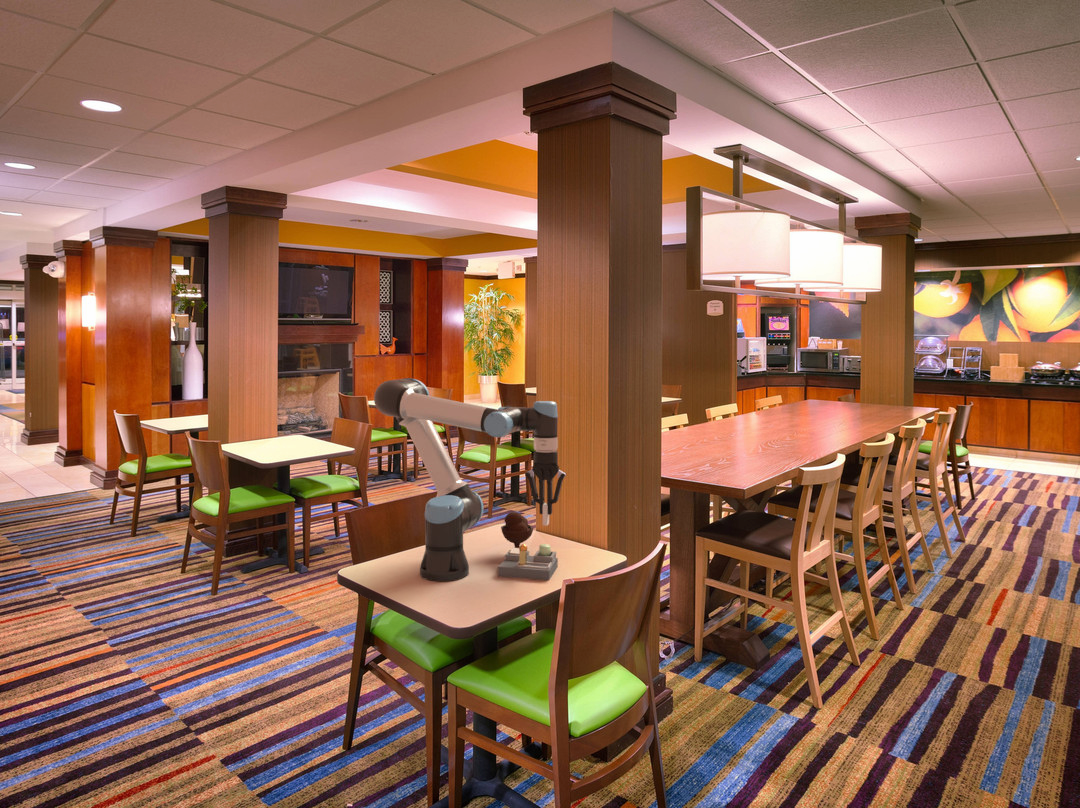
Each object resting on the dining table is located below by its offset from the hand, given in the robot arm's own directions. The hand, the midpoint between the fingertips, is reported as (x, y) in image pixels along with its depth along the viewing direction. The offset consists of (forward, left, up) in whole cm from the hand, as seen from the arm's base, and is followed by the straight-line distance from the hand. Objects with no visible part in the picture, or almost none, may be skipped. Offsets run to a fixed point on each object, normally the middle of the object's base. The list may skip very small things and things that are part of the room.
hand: (545, 524), depth 218 cm
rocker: (-9, 0, -10) cm, 14 cm away
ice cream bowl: (-13, +13, -15) cm, 23 cm away
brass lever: (-6, -6, -11) cm, 14 cm away
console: (-5, -3, -15) cm, 16 cm away
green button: (0, 0, -10) cm, 10 cm away
